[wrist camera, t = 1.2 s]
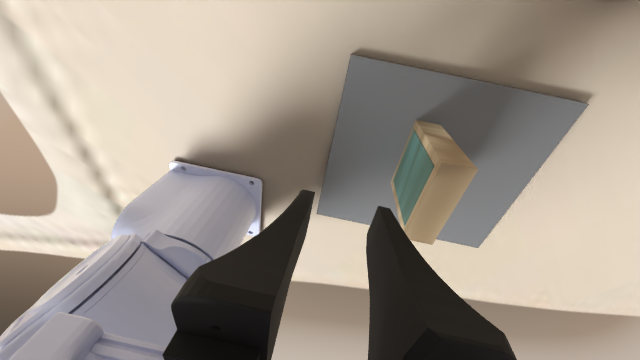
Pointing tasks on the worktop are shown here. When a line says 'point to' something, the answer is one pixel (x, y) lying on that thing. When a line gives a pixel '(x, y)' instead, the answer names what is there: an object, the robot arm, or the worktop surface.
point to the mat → (458, 121)
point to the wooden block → (429, 181)
